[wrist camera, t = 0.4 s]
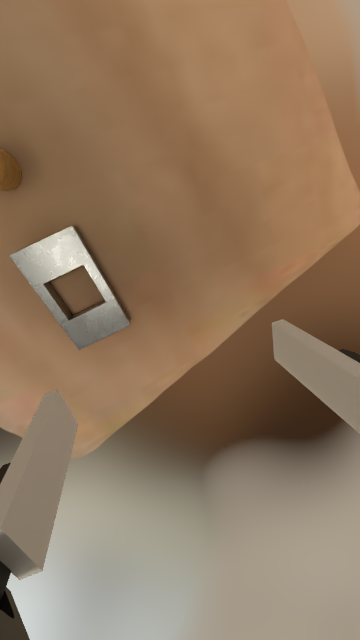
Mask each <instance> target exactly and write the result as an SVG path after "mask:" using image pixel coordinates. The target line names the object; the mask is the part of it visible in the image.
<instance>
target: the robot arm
mask: <svg viewBox="0 0 360 640" xmlns="http://www.w3.org/2000/svg"><path fill="white" fill-rule="evenodd" d="M272 333H273V345H274V346H273V347H274V359H275V360H276V361H277V362H278V363H279V364H280V365H282V366H283V367H284V368H285V369H286V370H287V371H288V372H290V373H291V374H292V375H293V376H294V377H295V378H296V379H298V380H299V381H300V382H301V383H302V384H303V385H304V386H306V387H307V388H308V389H309V390H310V391H311V392H313V393H314V394H315V395H316V396H317V397H318V398H320V399H321V400H322V401H323V402H324V403H325V404H326V405H327V406H329V407H330V408H331V409H332V410H333V411H334V412H335V413H337V414H338V415H339V416H340V417H341V418H342V419H344V420H345V421H346V422H347V423H348V424H349V425H350V426H352V427H353V428H354V429H355V430H356V431H357V432H358V433H360V355H359V354H357V353H355V352H351V351H348V350H344V349H341V350H339V351H338V350H336V349H334V348H332V347H331V346H329V345H327V344H325V343H324V342H321V341H320V340H318V339H317V338H315V337H313V336H311V335H310V334H308V333H306V332H304V331H302V330H301V329H299V328H297V327H296V326H294V325H292V324H290V323H288V322H287V321H285V320H283V319H282V320H279V321H276V322H273V323H272ZM77 427H78V423H77V422H76V420H75V418H74V416H73V414H72V413H71V411H70V409H69V407H68V405H67V404H66V402H65V400H64V398H63V396H62V394H61V393H60V391H59V390H56V391H52V392H49V393H46V394H45V395H44V397H43V399H42V401H41V403H40V405H39V407H38V409H37V411H36V413H35V415H34V417H33V419H32V421H31V423H30V425H29V427H28V429H27V431H26V433H25V435H24V437H23V439H22V441H21V443H20V445H19V447H18V449H17V452H16V453H15V456H14V457H13V459H12V462H11V463H8V464H5V465H3V466H2V467H1V468H0V640H30V639H29V637H28V634H27V632H26V629H25V627H24V624H23V622H22V619H21V617H20V614H19V612H18V609H17V607H16V605H15V602H14V599H13V597H12V594H11V592H10V590H9V589H8V588H7V587H6V585H7V582H8V579H9V576H10V573H13V574H14V575H15V576H16V577H17V578H18V579H19V580H21V579H23V578H26V577H28V576H30V575H33V574H36V573H38V572H41V571H42V570H43V566H44V562H45V558H46V554H47V550H48V546H49V542H50V537H51V533H52V529H53V525H54V520H55V517H56V513H57V509H58V505H59V501H60V497H61V492H62V488H63V484H64V480H65V476H66V472H67V468H68V464H69V460H70V456H71V452H72V448H73V444H74V439H75V435H76V431H77Z"/></svg>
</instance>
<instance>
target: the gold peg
mask: <svg viewBox="0 0 360 640" xmlns="http://www.w3.org/2000/svg"><path fill="white" fill-rule="evenodd" d="M21 180H22V172H21V168H20V166H19V164H18V163H17V161H16V160H15V159H14V158H13V157H12V156H11V155H9V154H8V153H6V152H5V151H3V150H2V149H0V190H4V191H10V190H13V189H15V188H17V187H18V186H19V185H20V183H21Z"/></svg>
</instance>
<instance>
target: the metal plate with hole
mask: <svg viewBox="0 0 360 640" xmlns="http://www.w3.org/2000/svg"><path fill="white" fill-rule="evenodd" d="M9 256H10V257H11V258H12V260H13V261H14V263H15V264H16V265H17V267H18V268H19V269H20V271H21V272H22V273H23V275H24V276H25V277H26V279H27V280H28V282H29V283H30V284H31V286H32V287H33V288H34V290H35V291H36V292H37V294H38V295H39V296H40V298H41V299H42V301H43V302H44V303H45V305H46V306H47V307H48V309H49V310H50V311H51V313H52V314H53V315H54V317H55V318H56V320H57V321H58V322H59V324H60V325H61V326H62V328H63V329H64V330H65V332H66V333H67V334H68V336H69V337H70V338H71V340H72V341H73V343H74V344H75V345H76V347H77V348H78V349H79V350H81V349H83V348H85V347H87V346H89V345H91V344H93V343H95V342H97V341H99V340H101V339H103V338H105V337H107V336H109V335H111V334H113V333H115V332H117V331H119V330H121V329H123V328H125V327H127V326H129V325H130V318H129V316H128V315H127V313H126V311H125V310H124V308H123V306H122V304H121V303H120V301H119V299H118V298H117V296H116V294H115V292H114V291H113V289H112V287H111V286H110V284H109V282H108V280H107V279H106V277H105V275H104V274H103V272H102V270H101V268H100V267H99V265H98V263H97V262H96V260H95V258H94V256H93V255H92V253H91V251H90V250H89V248H88V246H87V244H86V243H85V241H84V239H83V238H82V236H81V234H80V232H79V231H78V229H77V227H76V226H70V227H68V228H66V229H64V230H62V231H60V232H58V233H56V234H53V235H51V236H49V237H47V238H45V239H43V240H41V241H39V242H37V243H34V244H32V245H30V246H28V247H26V248H24V249H22V250H20V251H18V252H16V253H13V254H11V255H9ZM81 265H84V266H85V268H86V270H87V271H88V273H89V275H90V276H91V278H92V280H93V281H94V283H95V284H96V286H97V288H98V289H99V291H100V293H101V294H102V296H103V298H104V299H105V300H103V301H101V302H99V303H97V304H95V305H93V306H91V307H89V308H87V309H85V310H82V311H80V312H78V313H76V314H74V315H72V314H71V312H70V311H69V309H68V308H67V307H66V305H65V304H64V302H63V301H62V299H61V298H60V297H59V295H58V294H57V292H56V291H55V289H54V288H53V287H52V285H51V284H50V282H49V281H50V280H52V279H54V278H56V277H59V276H61V275H63V274H65V273H67V272H69V271H71V270H73V269H75V268H77V267H79V266H81Z"/></svg>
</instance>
